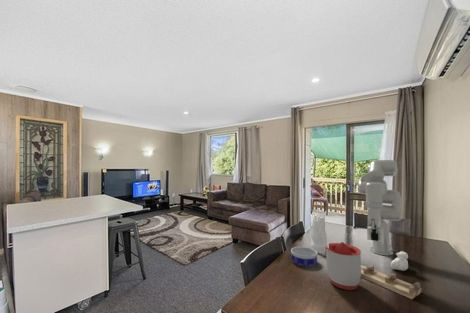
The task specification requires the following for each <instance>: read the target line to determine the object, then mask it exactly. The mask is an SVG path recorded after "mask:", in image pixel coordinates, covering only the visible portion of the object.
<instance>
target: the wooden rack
mask: <svg viewBox="0 0 470 313" xmlns="http://www.w3.org/2000/svg"><path fill="white" fill-rule="evenodd" d="M374 266H375V265H369V266H365V265H362V264H361V277H360V279H361V278H362V279H364V280H366V281H368V282H371V283H373V284H375V285H378V286H380V287H382V288H384V289H388V290H390V291H391V292H394V293H397V294H398V295H400V296H404V297H406V298H408V299H410V300H413V299H414V298H416V297H417V296H419V295H420V294H422V287H421V283H420V282H418V281H416V282H414V283H413V284H412V283H409V282H407V281H404V280H402V279H399V278H397V274H396V273H395V272H393V273H391V274H389V275H388V274H385V273H383V272H380V271H378V270H375V267H374Z"/></svg>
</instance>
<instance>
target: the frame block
mask: <svg viewBox="0 0 470 313" xmlns="http://www.w3.org/2000/svg"><path fill="white" fill-rule="evenodd" d="M375 229H376V228H375ZM366 231H367V232H366V233H367V234H366V235H367V236H366V237H367V240H368V241H372V242H373V241H375V240H371V226H368V225H367V227H366ZM377 232H378V242H383V241H384V235H383V229H382V228H377Z"/></svg>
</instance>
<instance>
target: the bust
mask: <svg viewBox="0 0 470 313" xmlns="http://www.w3.org/2000/svg"><path fill="white" fill-rule="evenodd" d="M395 255H396V256H397V257H395V258H394V259H393V260H392V261H391V262H390V267H391V269H392V270H398V271H401V272H405V271H406V270H408V268H409V263H408V258H409V255H408V253H407V252H405V251H403V250H401V251H399V252H396V253H395Z"/></svg>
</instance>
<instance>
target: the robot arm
mask: <svg viewBox="0 0 470 313" xmlns="http://www.w3.org/2000/svg"><path fill="white" fill-rule="evenodd" d="M397 175H398V165H397V163H396V161H395V160H392V159H382V160H381V159H379V160H377V159H376V160H373V161H371V162H370V164H369V165H368V166H367V173H365V174H363V175H361V176H360V178H359V180H358V183H357V191H358V193H360V194H361V195H365V205H366V206H365V207H366V209H367V227H368V226H369V227H371V240H370V241H372V247H370V251H371V253H374V254H377V255H381V256H388V257H389V256H392V255H393V254H394V252H393V251H392V250H391V248H392V244H390V241H391V240H390V226H389V224H388V223H387V221H394V222H398V221H399V222H400V221H401V220H402V219H403V209H402V207H403V206H402V197H401V192H399V191H398V190H394V189H388V186H387V185H388V183H387V181H385V180H384V179H385V177H396V176H397ZM386 220H387V221H386ZM375 228H376V229H375ZM377 228H382V229H383V235H384V241H383V242H378V232H377ZM373 240H375V241H373Z"/></svg>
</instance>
